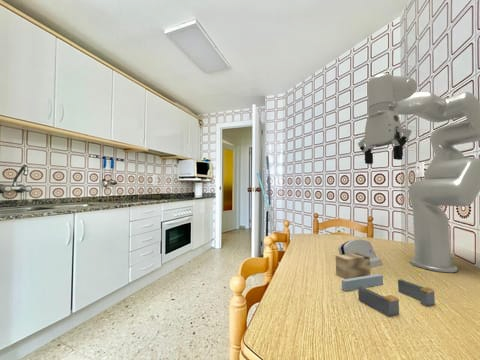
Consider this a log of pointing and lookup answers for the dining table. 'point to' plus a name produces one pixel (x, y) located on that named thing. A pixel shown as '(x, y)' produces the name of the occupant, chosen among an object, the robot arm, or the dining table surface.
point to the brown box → (352, 265)
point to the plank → (362, 282)
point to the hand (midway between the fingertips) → (382, 161)
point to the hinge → (360, 250)
